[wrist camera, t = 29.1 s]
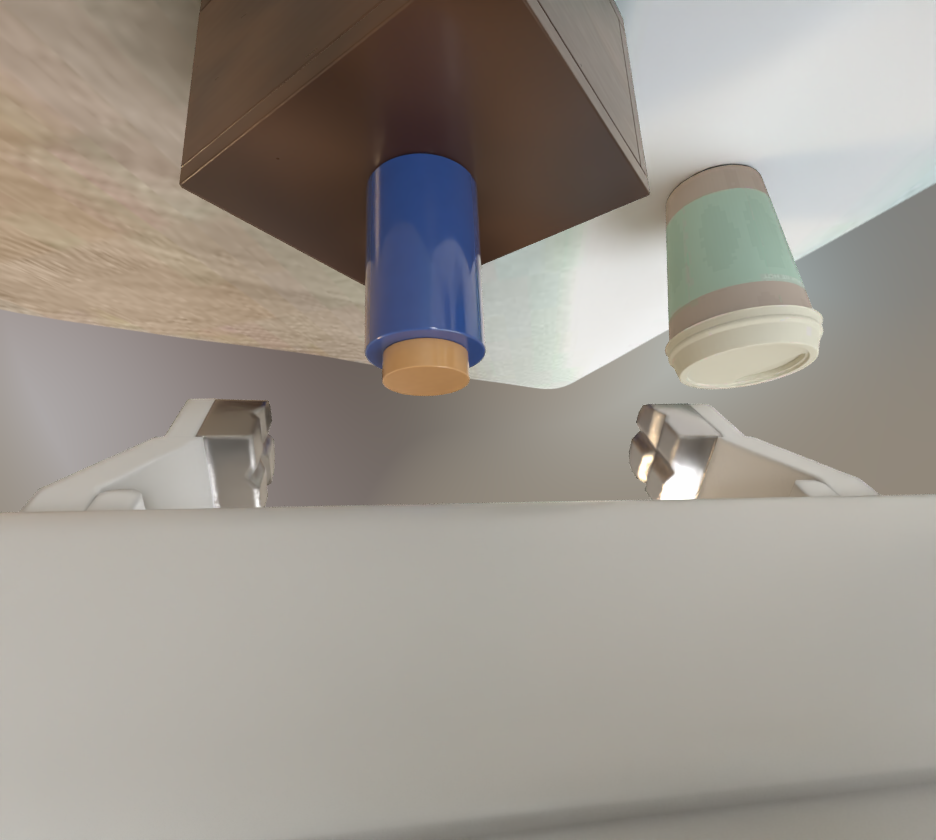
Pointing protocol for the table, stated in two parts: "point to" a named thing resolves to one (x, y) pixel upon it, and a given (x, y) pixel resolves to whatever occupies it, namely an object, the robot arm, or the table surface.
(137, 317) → the table surface
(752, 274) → the coffee cup
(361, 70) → the cabinet
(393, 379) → the jar
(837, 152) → the table surface
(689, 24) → the table surface
